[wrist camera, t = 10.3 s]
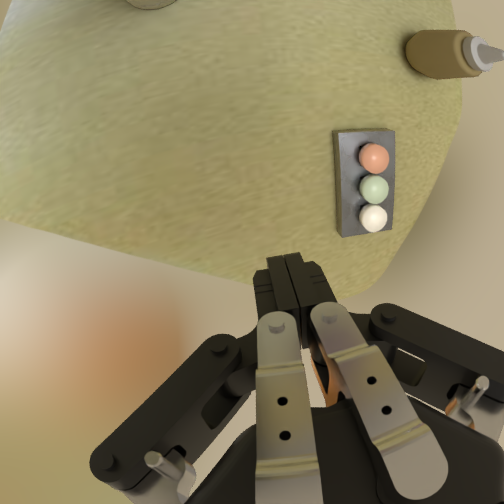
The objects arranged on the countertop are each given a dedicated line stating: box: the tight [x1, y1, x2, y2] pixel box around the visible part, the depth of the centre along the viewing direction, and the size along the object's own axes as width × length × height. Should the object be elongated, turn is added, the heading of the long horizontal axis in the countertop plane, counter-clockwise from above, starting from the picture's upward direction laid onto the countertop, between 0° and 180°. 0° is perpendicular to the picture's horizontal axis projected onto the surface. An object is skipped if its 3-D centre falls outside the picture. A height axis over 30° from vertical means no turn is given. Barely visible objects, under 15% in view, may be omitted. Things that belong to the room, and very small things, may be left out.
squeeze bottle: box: [405, 30, 504, 80], centre depth 23 cm, size 8×8×18 cm
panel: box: [332, 129, 395, 238], centre depth 40 cm, size 16×9×2 cm, turn 8°
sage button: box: [360, 174, 389, 204], centre depth 39 cm, size 4×4×4 cm
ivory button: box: [359, 203, 387, 232], centre depth 41 cm, size 4×4×4 cm
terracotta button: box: [359, 143, 389, 174], centre depth 36 cm, size 4×4×4 cm
